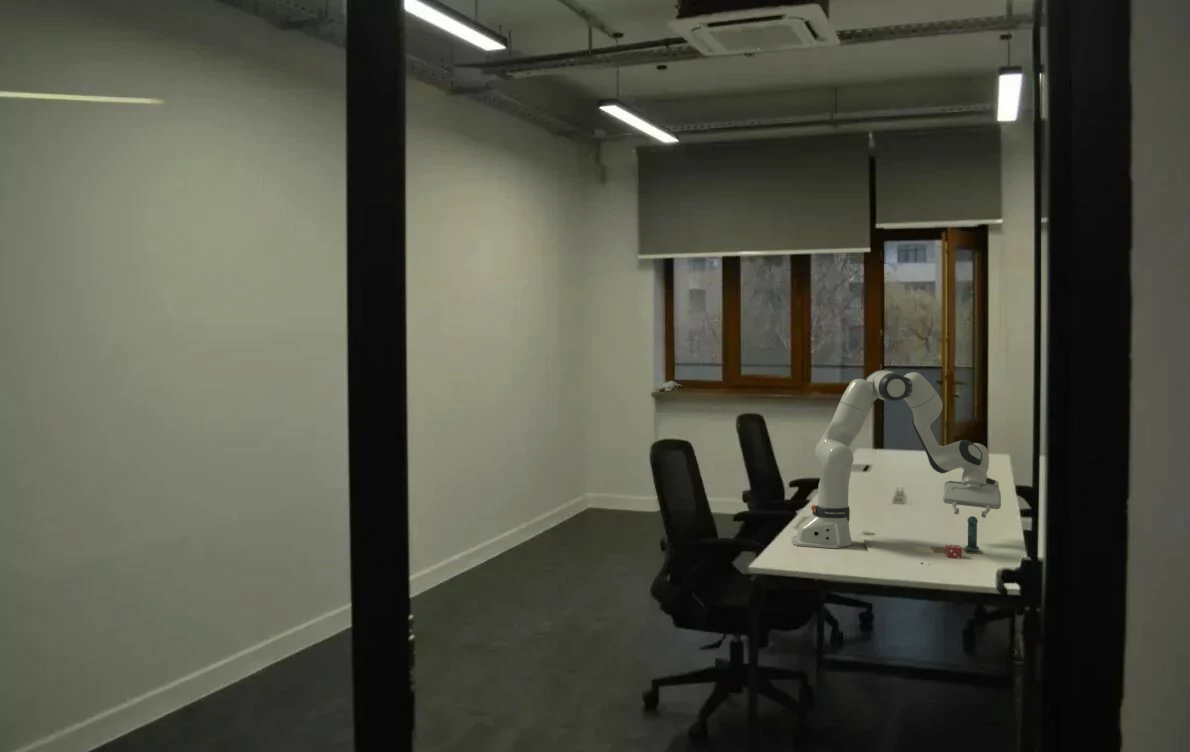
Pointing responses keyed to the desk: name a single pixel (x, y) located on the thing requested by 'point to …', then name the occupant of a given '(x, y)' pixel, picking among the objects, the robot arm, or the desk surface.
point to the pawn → (972, 535)
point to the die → (953, 551)
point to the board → (941, 550)
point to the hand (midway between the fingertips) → (969, 515)
